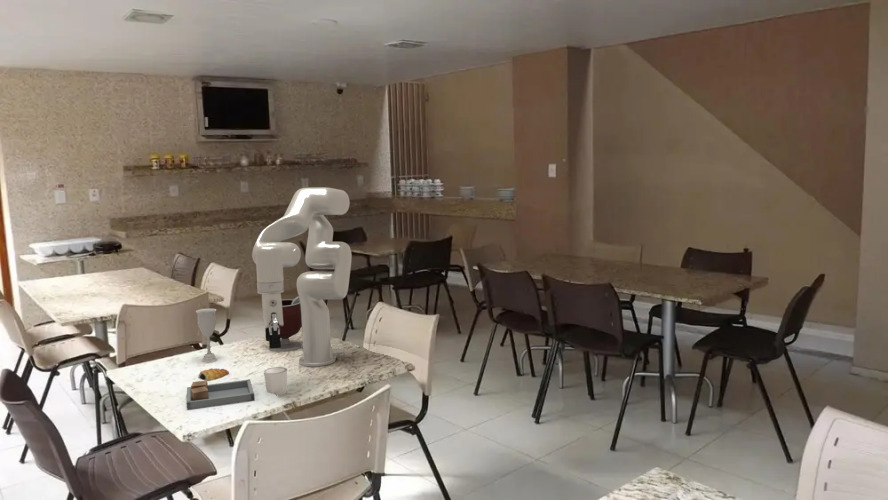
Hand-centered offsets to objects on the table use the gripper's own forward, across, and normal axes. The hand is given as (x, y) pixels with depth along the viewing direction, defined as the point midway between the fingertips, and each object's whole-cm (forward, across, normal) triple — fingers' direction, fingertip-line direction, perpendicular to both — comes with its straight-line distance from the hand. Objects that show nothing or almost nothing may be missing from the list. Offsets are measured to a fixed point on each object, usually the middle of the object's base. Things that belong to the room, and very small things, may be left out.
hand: (273, 344), depth 193 cm
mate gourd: (+14, +52, -10) cm, 55 cm away
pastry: (+15, +22, +17) cm, 32 cm away
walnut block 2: (+14, -2, +21) cm, 26 cm away
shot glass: (+15, +1, 0) cm, 15 cm away
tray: (+15, +1, +16) cm, 22 cm away
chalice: (+15, +46, +18) cm, 51 cm away
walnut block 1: (+14, +4, +21) cm, 26 cm away
